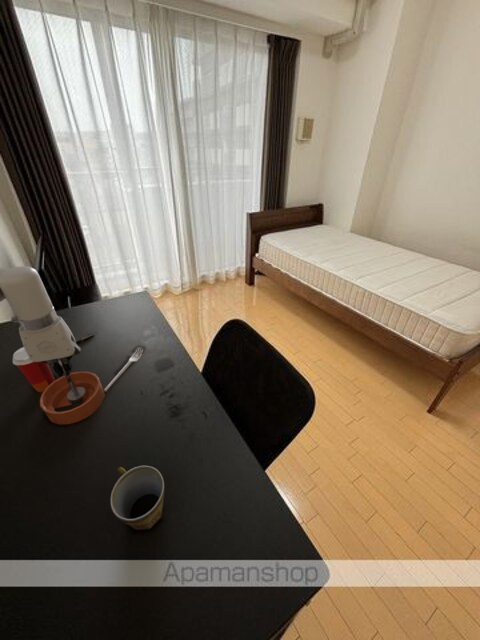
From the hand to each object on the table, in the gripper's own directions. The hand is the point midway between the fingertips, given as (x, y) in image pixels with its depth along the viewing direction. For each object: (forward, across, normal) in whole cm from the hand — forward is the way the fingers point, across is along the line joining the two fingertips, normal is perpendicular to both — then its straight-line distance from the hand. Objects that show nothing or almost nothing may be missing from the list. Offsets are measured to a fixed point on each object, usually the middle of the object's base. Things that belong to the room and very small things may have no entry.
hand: (65, 372), depth 78 cm
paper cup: (+12, -11, +9) cm, 19 cm away
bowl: (+12, 0, -2) cm, 12 cm away
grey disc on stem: (+11, 0, 0) cm, 11 cm away
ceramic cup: (+12, +18, -36) cm, 42 cm away
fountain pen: (+12, -5, +28) cm, 31 cm away
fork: (+12, +13, +9) cm, 20 cm away
